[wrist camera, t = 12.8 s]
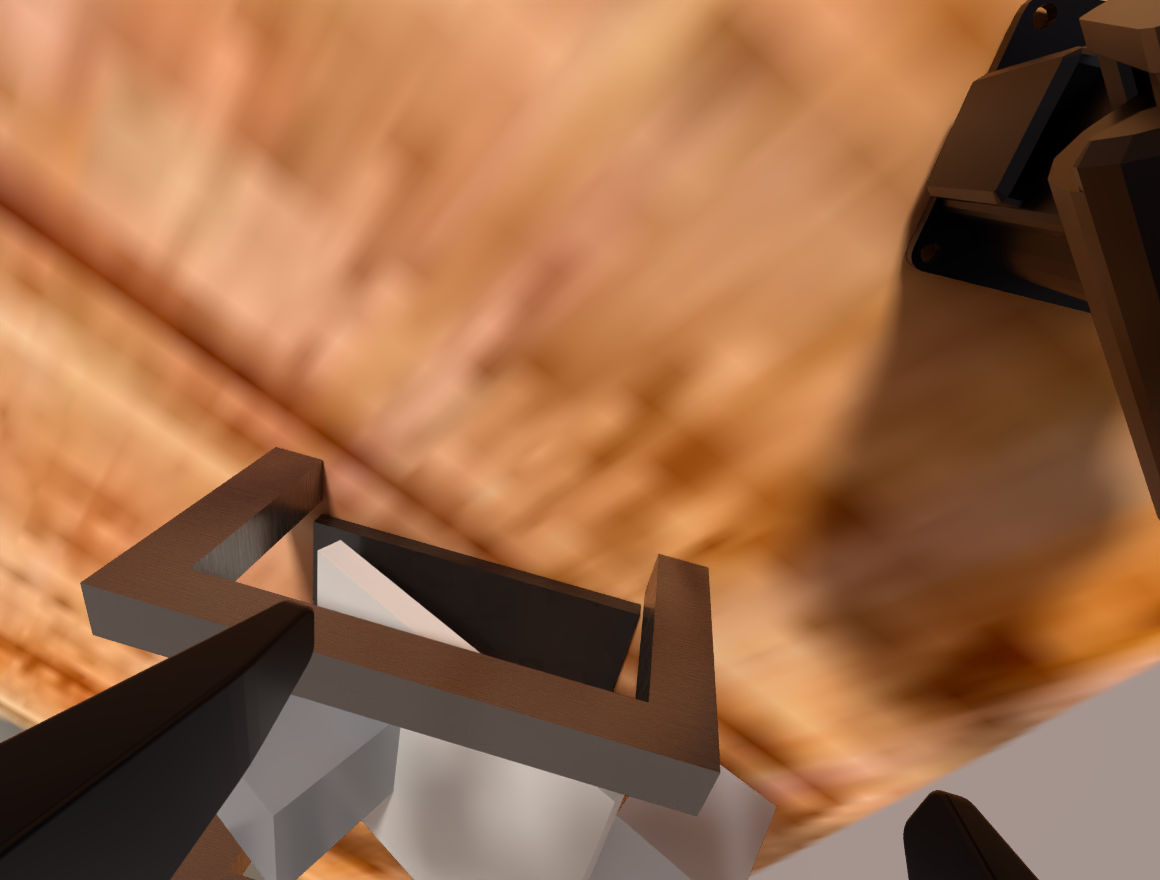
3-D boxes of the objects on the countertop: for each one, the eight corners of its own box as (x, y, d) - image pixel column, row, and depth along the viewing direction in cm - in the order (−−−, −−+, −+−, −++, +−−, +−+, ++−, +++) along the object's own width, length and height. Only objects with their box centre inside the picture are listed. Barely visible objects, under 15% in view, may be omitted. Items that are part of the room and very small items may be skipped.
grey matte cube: (401, 714, 22) (273, 816, 18) (393, 791, 24) (277, 896, 20) (323, 639, 24) (193, 715, 20) (321, 716, 26) (204, 798, 23)
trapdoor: (799, 770, 18) (746, 912, 14) (674, 968, 25) (613, 1104, 21) (418, 504, 26) (317, 550, 22) (398, 706, 33) (316, 769, 29)
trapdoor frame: (708, 567, 22) (720, 772, 15) (598, 837, 31) (570, 1053, 24) (275, 447, 23) (80, 582, 16) (285, 741, 32) (162, 920, 24)
